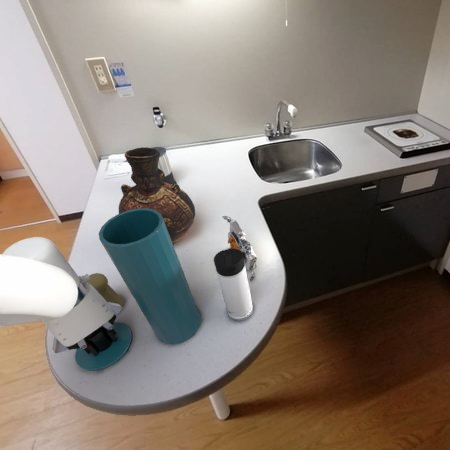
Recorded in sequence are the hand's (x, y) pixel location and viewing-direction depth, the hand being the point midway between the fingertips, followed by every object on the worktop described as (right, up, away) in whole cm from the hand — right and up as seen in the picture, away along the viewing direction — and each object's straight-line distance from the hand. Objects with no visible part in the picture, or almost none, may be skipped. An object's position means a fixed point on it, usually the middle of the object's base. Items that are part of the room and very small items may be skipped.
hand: (103, 343), depth 69 cm
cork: (-4, +6, +9) cm, 12 cm away
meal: (+27, +15, +20) cm, 37 cm away
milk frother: (-7, +40, +50) cm, 64 cm away
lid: (0, -1, +1) cm, 1 cm away
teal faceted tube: (+15, +3, +5) cm, 16 cm away
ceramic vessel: (+2, +23, +29) cm, 37 cm away
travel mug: (+30, +5, +8) cm, 31 cm away
